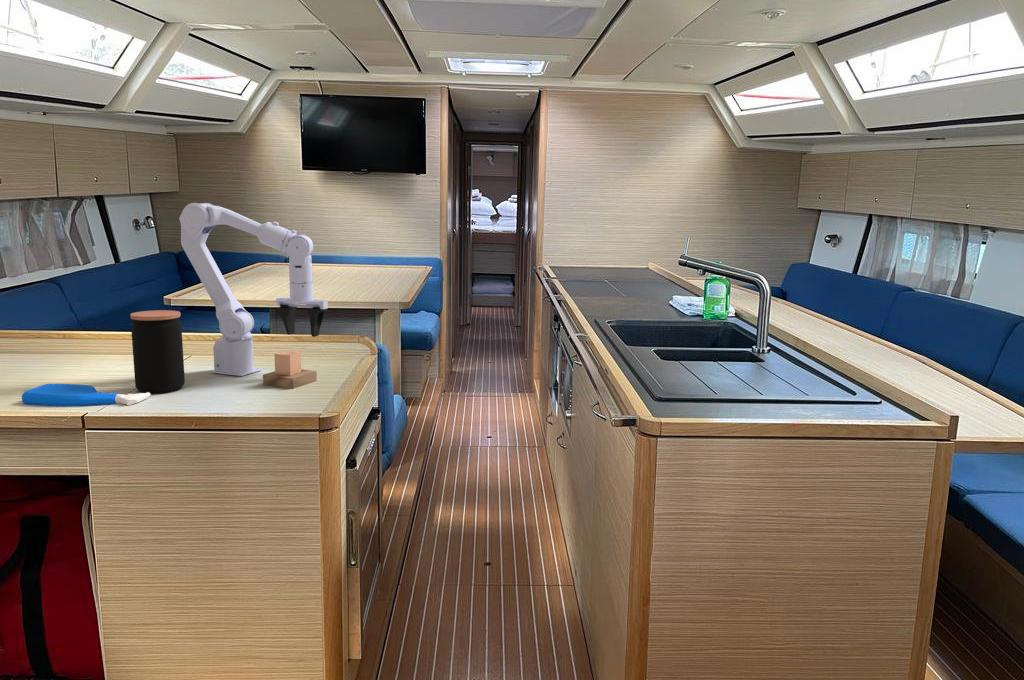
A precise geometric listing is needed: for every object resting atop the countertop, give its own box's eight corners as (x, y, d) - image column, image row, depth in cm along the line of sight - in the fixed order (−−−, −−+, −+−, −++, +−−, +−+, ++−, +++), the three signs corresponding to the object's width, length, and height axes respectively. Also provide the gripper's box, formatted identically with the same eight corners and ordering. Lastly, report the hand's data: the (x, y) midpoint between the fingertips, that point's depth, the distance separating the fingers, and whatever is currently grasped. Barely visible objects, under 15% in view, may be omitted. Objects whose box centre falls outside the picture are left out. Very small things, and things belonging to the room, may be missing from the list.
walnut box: (263, 386, 187) (262, 374, 186) (287, 379, 195) (287, 367, 194) (293, 390, 183) (292, 378, 183) (316, 382, 191) (316, 371, 191)
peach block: (275, 373, 187) (274, 353, 186) (286, 370, 191) (285, 350, 190) (290, 375, 186) (289, 355, 185) (301, 372, 190) (300, 352, 189)
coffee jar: (195, 386, 184) (190, 311, 181) (161, 396, 174) (156, 317, 171) (159, 382, 187) (154, 309, 184) (124, 392, 177) (119, 314, 174)
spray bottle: (16, 393, 165) (127, 398, 163) (49, 381, 175) (154, 386, 174) (17, 406, 165) (128, 412, 164) (50, 394, 176) (154, 399, 174)
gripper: (267, 282, 195) (269, 335, 198) (315, 285, 190) (316, 339, 192) (285, 280, 202) (287, 331, 204) (332, 282, 196) (333, 335, 199)
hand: (302, 335), depth 199 cm, fingers open, 7 cm apart
